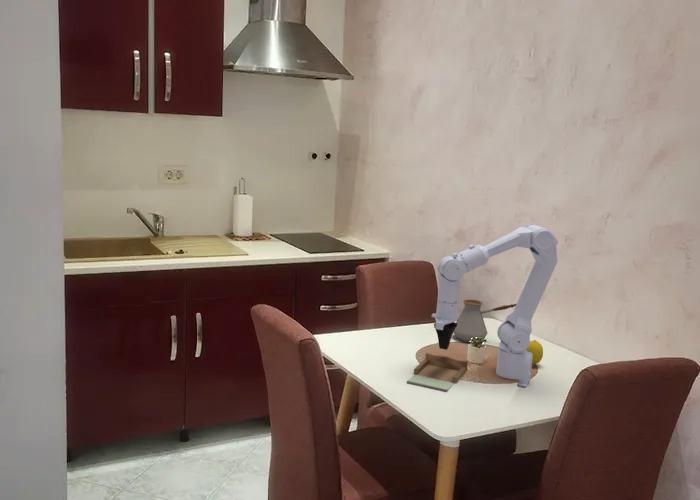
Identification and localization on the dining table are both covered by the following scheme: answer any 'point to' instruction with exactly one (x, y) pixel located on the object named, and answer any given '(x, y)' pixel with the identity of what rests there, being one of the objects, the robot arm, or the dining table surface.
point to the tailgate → (430, 383)
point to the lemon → (535, 351)
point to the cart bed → (442, 368)
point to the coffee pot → (473, 320)
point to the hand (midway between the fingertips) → (443, 348)
